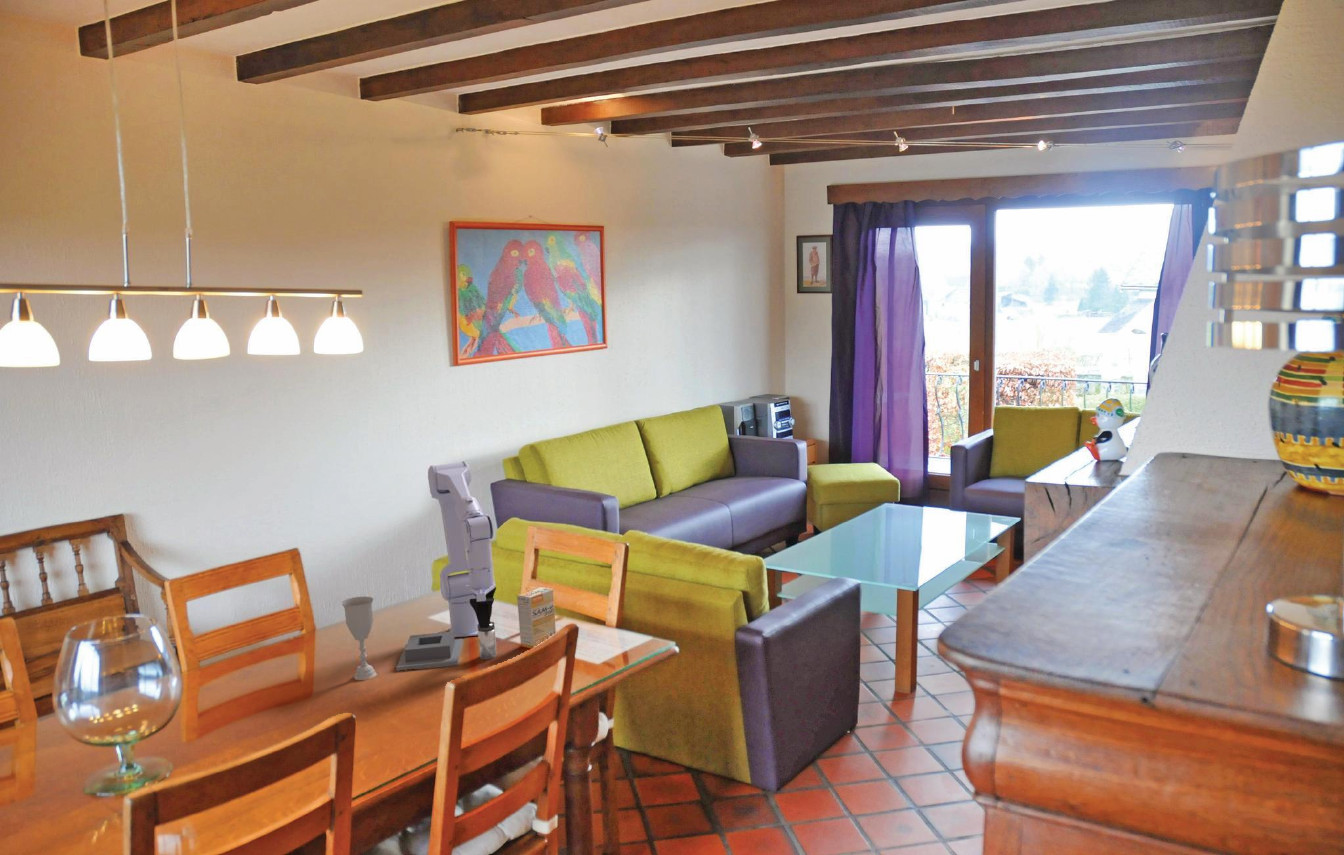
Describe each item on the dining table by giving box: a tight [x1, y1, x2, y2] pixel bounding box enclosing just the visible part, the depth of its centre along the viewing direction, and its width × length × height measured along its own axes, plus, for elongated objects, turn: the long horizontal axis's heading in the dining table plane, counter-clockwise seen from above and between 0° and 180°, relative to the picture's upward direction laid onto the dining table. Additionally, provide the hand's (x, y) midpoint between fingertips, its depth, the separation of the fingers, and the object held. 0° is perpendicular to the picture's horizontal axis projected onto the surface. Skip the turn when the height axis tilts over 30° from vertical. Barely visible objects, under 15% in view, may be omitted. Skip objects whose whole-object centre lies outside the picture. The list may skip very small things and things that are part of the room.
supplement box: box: [516, 586, 557, 649], centre depth 249 cm, size 8×5×13 cm, turn 143°
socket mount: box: [395, 631, 464, 672], centre depth 244 cm, size 16×14×4 cm
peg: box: [477, 621, 498, 660], centre depth 242 cm, size 4×4×8 cm
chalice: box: [341, 596, 378, 681], centre depth 233 cm, size 7×7×18 cm
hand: (485, 622), depth 241 cm, fingers open, 7 cm apart
